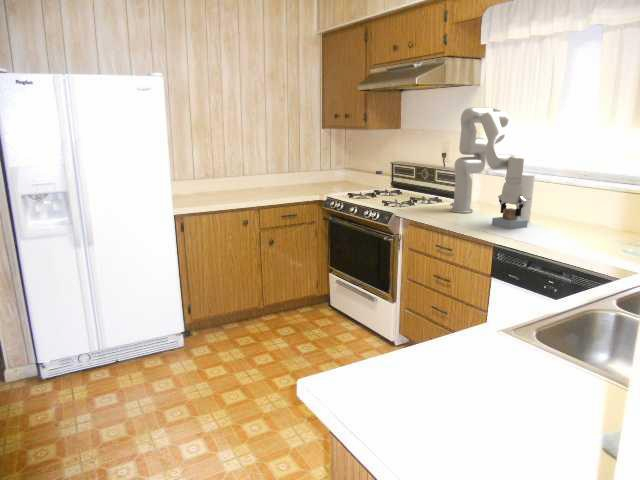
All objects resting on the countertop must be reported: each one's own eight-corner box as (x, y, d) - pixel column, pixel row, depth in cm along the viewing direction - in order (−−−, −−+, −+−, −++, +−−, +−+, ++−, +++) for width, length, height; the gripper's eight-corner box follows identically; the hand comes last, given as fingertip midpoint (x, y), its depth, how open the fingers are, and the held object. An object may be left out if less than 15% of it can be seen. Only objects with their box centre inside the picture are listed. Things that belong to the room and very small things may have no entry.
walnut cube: (502, 218, 255) (503, 209, 254) (509, 217, 257) (510, 208, 256) (509, 220, 251) (510, 210, 250) (517, 219, 253) (518, 209, 252)
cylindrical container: (512, 220, 268) (517, 174, 262) (522, 219, 270) (527, 173, 264) (522, 223, 261) (527, 175, 255) (532, 222, 264) (537, 175, 258)
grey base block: (491, 225, 258) (492, 217, 257) (508, 223, 263) (509, 216, 262) (509, 230, 247) (510, 222, 246) (526, 227, 253) (527, 220, 252)
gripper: (495, 179, 255) (492, 212, 259) (522, 183, 240) (518, 218, 244) (505, 178, 259) (502, 211, 263) (533, 182, 244) (529, 216, 248)
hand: (510, 214), depth 254 cm, fingers open, 9 cm apart
